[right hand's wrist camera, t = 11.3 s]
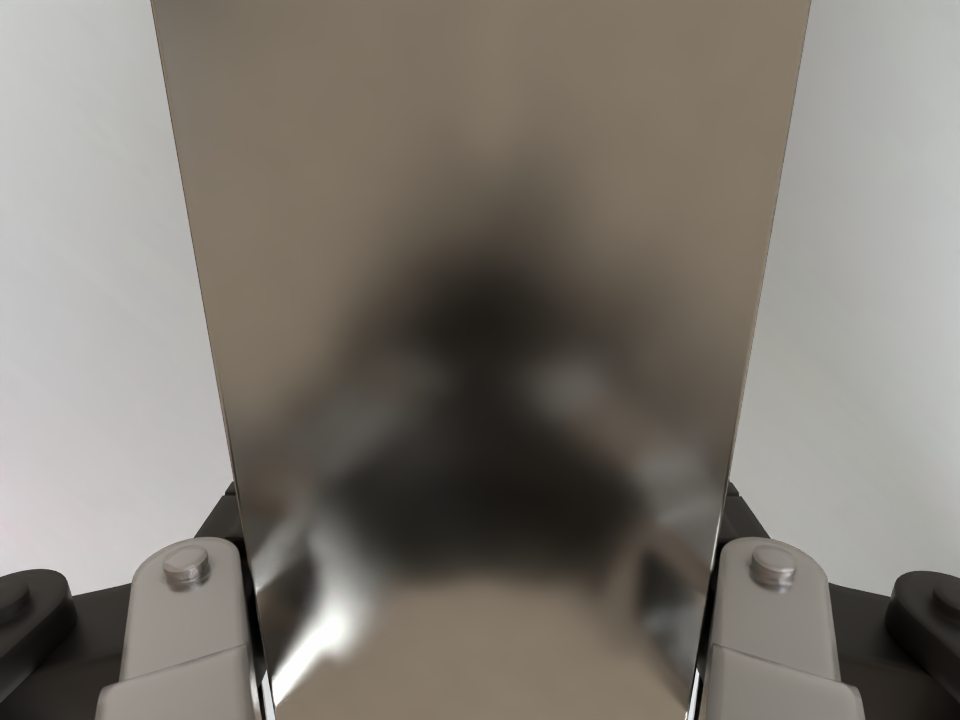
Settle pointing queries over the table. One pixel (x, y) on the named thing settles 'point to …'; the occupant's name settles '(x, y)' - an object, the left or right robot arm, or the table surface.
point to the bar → (481, 332)
